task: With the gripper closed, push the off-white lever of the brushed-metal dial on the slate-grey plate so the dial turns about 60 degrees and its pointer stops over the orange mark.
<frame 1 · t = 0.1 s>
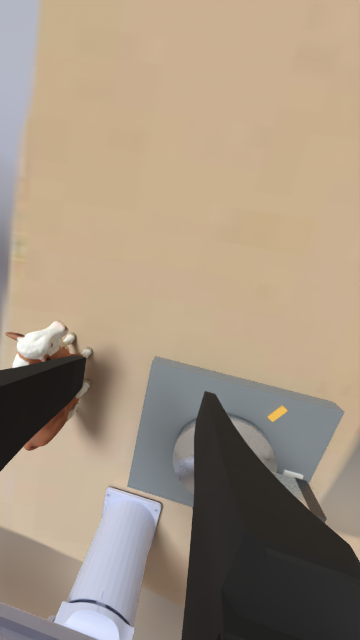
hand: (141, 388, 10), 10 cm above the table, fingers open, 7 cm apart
dial: (238, 478, 19), point 4 cm above the table, hinge at 0.0°
dial plate: (220, 442, 22), on the table
bull figurine: (81, 359, 22), on the table
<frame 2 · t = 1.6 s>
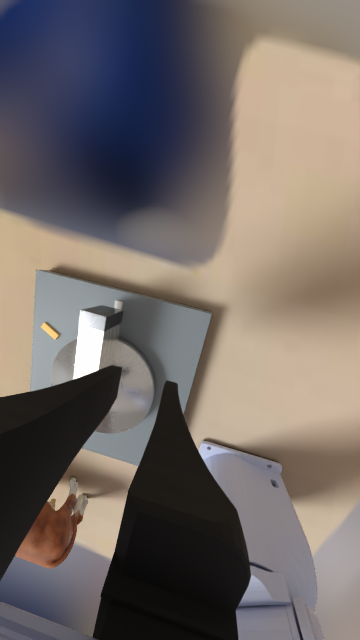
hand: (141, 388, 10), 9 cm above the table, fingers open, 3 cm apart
dial: (97, 379, 17), point 4 cm above the table, hinge at 0.0°
dial plate: (113, 374, 21), on the table
bull figurine: (55, 477, 26), on the table
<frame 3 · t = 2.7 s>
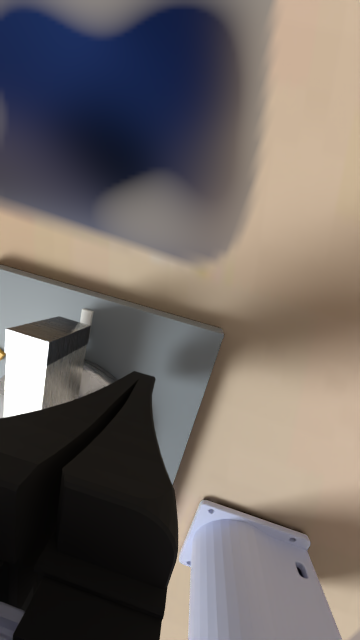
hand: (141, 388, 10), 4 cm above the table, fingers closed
dial: (50, 426, 12), point 4 cm above the table, hinge at 0.0°
dial plate: (84, 406, 16), on the table
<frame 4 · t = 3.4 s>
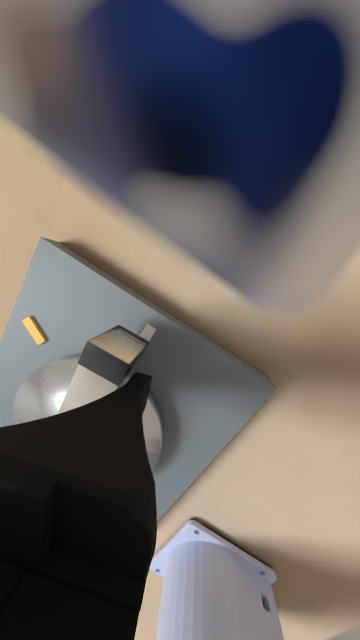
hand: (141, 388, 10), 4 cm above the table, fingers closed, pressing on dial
dial: (82, 429, 11), point 4 cm above the table, hinge at 3.8°, touching gripper
dial plate: (104, 407, 15), on the table
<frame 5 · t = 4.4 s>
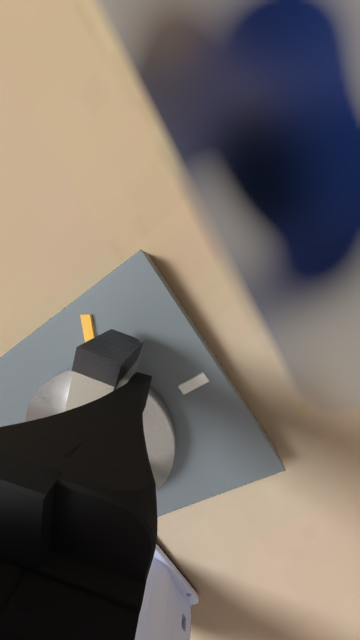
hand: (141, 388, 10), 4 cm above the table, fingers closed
dial: (93, 438, 11), point 4 cm above the table, hinge at 37.6°, touching gripper
dial plate: (115, 415, 15), on the table
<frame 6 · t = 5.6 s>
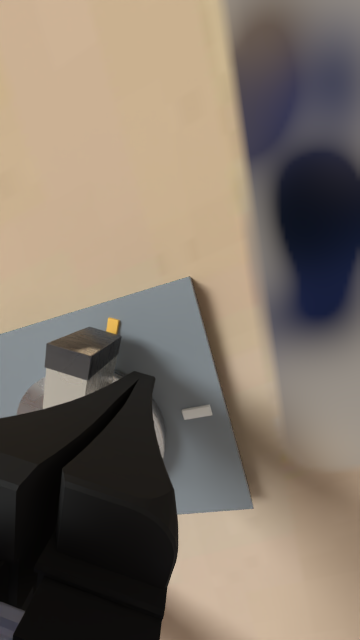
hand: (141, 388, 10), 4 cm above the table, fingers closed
dial: (80, 437, 12), point 4 cm above the table, hinge at 59.2°
dial plate: (106, 414, 16), on the table
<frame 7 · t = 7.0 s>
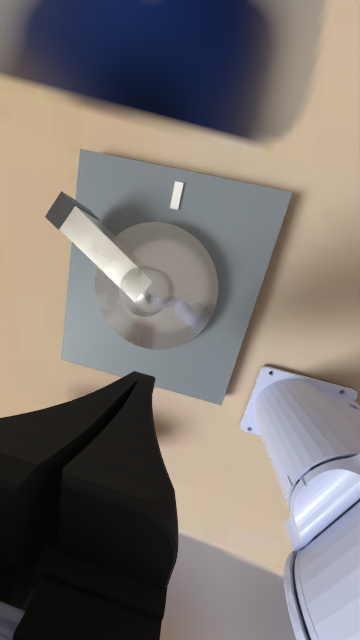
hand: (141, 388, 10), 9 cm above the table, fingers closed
dial: (138, 277, 15), point 4 cm above the table, hinge at 59.3°
dial plate: (161, 289, 19), on the table
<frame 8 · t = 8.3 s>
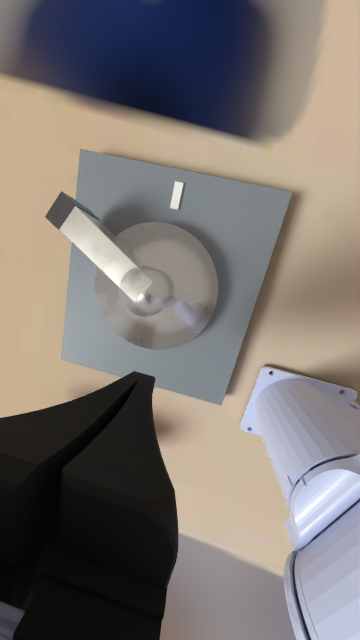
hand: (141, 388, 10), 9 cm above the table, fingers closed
dial: (138, 277, 15), point 4 cm above the table, hinge at 59.3°
dial plate: (161, 289, 19), on the table
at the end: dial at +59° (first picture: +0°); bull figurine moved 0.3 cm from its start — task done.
